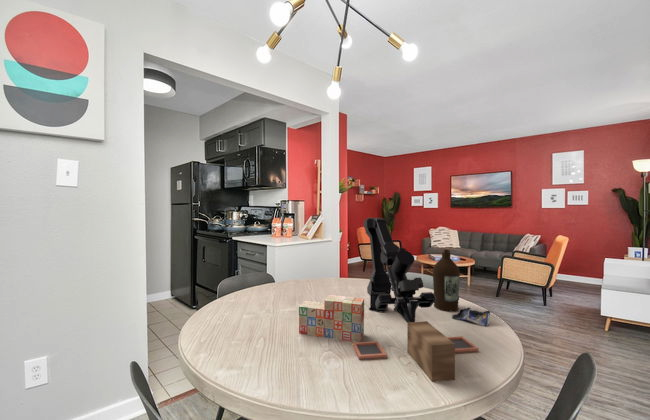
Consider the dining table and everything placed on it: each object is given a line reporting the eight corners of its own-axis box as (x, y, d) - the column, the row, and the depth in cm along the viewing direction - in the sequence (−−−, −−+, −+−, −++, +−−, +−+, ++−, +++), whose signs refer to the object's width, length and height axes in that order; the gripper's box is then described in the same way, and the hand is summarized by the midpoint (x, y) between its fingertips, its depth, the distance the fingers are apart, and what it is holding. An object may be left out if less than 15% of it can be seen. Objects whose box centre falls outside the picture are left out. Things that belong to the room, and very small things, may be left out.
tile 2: (438, 340, 89) (438, 337, 89) (461, 339, 90) (461, 336, 90) (453, 353, 81) (453, 350, 81) (478, 351, 82) (478, 348, 82)
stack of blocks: (298, 333, 95) (298, 297, 95) (305, 326, 101) (305, 292, 100) (361, 343, 88) (361, 304, 88) (364, 334, 94) (364, 298, 94)
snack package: (465, 329, 99) (496, 326, 101) (463, 310, 100) (493, 308, 102) (447, 321, 111) (475, 319, 112) (446, 304, 112) (473, 302, 113)
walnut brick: (407, 353, 82) (407, 322, 82) (426, 351, 83) (426, 321, 83) (431, 382, 68) (432, 345, 68) (454, 380, 69) (454, 343, 69)
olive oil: (427, 304, 124) (427, 247, 124) (448, 302, 126) (448, 247, 126) (442, 313, 113) (443, 251, 113) (465, 311, 116) (465, 250, 116)
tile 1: (352, 346, 86) (352, 342, 86) (377, 344, 87) (377, 341, 87) (359, 359, 78) (359, 356, 78) (386, 358, 79) (386, 354, 79)
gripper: (378, 269, 89) (390, 317, 78) (433, 267, 91) (452, 314, 80) (370, 286, 97) (381, 332, 86) (422, 285, 99) (438, 329, 88)
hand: (413, 327), depth 85 cm, fingers closed
